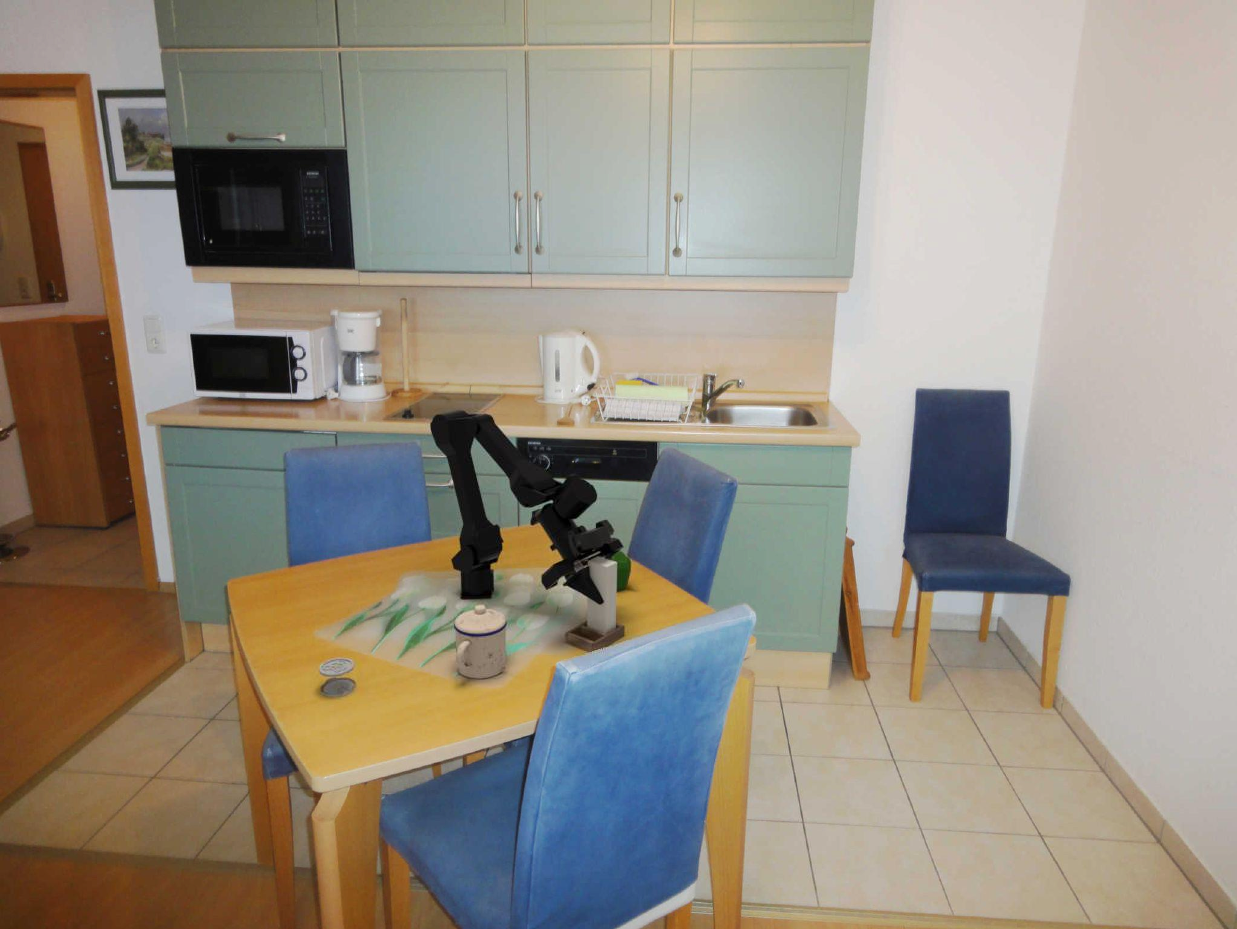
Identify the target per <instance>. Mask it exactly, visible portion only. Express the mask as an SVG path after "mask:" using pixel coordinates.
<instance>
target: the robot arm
mask: <svg viewBox="0 0 1237 929" xmlns="http://www.w3.org/2000/svg"><path fill="white" fill-rule="evenodd" d="M429 426H430V432H431V436H432V438H433V441H434V444H435V446H436V447H437V448H438V449H439V450H440V451H441V452H442V453H443V455H445V457H446V460H447V463H448V469H449V472H450V476H451V478H452V483H453V484H452V485H453V487H454V493H455V496H456V499H457V504H458V508H459V512H460V516H461V520H462V527H461V531H460V534H459V547H460V549H459V550H458V552H457V553H456V554H455V555H454V556H453V557H452V558H451V559H450V560H451V564H452V567H453V569H454V570H455V571H458V572H460V596H459V597H460V599H462V600H464V599H465V600H466V599H467V600H468V599H489V598H493V597H492V596H493V595H492V594H493V592H494V591H495V577H494V576H495V574H494V573H495V572H494V569H493V568H492V567H491V566H492V564H497V563H498V561H499V558H500V556H501V553H502V552H503V549H504V548H503V543H504V539H503V537H502V533H501V527H500V526H499V524H497V523H496V524H494V523H492V522H491V520H490V519H488V517H487V515H486V510H485V506H484V501H483V498H482V494H481V489H480V485H479V481H478V476H477V472H476V469H475V468H476V467H475V465H474V461H473V460H474V459H473V456H472V451H471V450H472V447H473V444H474V441H475V440H476V441H477V442H478V443H479V444H480V446H481V447H482V448H483V449H484V451H485V452H486V453H487V454H488V455H489V456H490V458H491V459H492V460H493V461H494V463H496V465H497V466H498V467H499V468H500V469H501V470H502V472H504V474H505V475H506V477H507V478H508V481H509V488H510V491H511V493H512V494H513V495H514V497H515V498H516V500H517V501H518V503H519V504H520V505H521V507H523V508H525V509H526V508H528V509H529V508H530V509H532V508H534V507H537V506H539V505H543V504H544V505H543V506H542V507H541V508H537V509H535V510H532V511H531V517H530V524H529V525H530V526H536V525H537V524H540V526H541V527H542V529H543V530H544V532H545V534H546V536H547V537H548V539H549V540H550V542H551V543H552V544H551V545H550V546H549V548H550V550H551V551H552V552H554V551H557V552H558V553H559V556H560V557H561V559H562V560H560V561H557V562H556V563H553V564H552V565H551V566H550V567H549V568H548V569H547V570H545V571H544V572H543V573H542V574H541V580H540V583H541V584H542V586H543V587H544V588H545V590H546V591H548V590H550V589H552V588H554V587H556V586H558V583H559V581H560V579H561V578H563V577H564V580H565V582H563V583H562V586H563V587H568V588H570V589H572V590H574V591H576V592H578V593H580V594H581V595H583V596H584V597H586V598H587V599H588V598H589V599H591V600H593V601H594V602H596V603H597V604H599V605H601V604H603V603H604V600H603V598H602V596H601V594H600V592H599V591H598V589H597V587H596V586H595V584H594V582H593V581H592V579H591V577H590V567H589V566H588V561H589V560H591V559H594V558H596V557H602V558H605V559H608V560H611V559H612V557H613V556H614V555H615V554H616V553H618V552H619V551H622V549H624V547H625V546H624V545H623V543H622V541H621V540H620V539H619V538H618V537H612V536H613V535H614V533H615V529H614V527H613V526H612V524H611V523H610V521H609V520H608V519H603V520H599V521H597V522H595V528H592V529H587V528H586V526H584V525H582V524H581V525H579V526H578V524H576V521H575V520H577V519H578V518H579V517H580V516H581V515H583V514H584V513H586V511H587V510H588V509H590V507H592V505H593V504H595V503H596V501H597V499H598V492H597V490H596V488H595V486H594V485H593V484H591V483H590V482H589V481H587V480H586V479H583V478H581V477H580V478H579V476H578V474H577V473H573V474H570V475H568V476H567V477H566V478H565V479H564V481H563V482H561V481H559V480H556V479H555V478H554V477H553V476H552V475H551V474H550V473H549V472H548V471H546V470H545V469H544V468H543V467H541V466H539V465H537V464H534V463H533V462H530V461H529V460H528V459H526V457H525V456H524V455H523V454H522V452H520V450H519V449H518V448H517V447H516V446H515V445H514V444H513V442H512V441H511V440H510V439H509V438H508V437H507V435H506V434H505V433H504V432H503V431H502V430H501V429H500V427H499V426H498V425H497V424H496V422H495V419H494V417H493V416H492V415H491V414H489V413H482V414H481V413H467V412H466V410H463V409H458V410H452V411H448V412H442V413H438V414H435V415H434V416H433V417H432V420H431V422H430V425H429ZM545 503H546V504H545Z"/></svg>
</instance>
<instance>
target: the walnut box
mask: <svg viewBox="0 0 1237 929" xmlns="http://www.w3.org/2000/svg"><path fill="white" fill-rule="evenodd" d="M625 626H626V625H623V624H620V623H617V622H616V629H615V630H613V631H611V632H610V633H608V634H605V633H602V632H599V631H596V630H594V629H591V628H588V627H587V620H586V621H584V622H582V623H581V624H579V625H577V626H575V627H574V628H571V629H570V630H568V631H566V632H564V633H565V634H564V638H565V640H564V643H565V644H567V645H570V646H572V647H575V648H577V649H580V650H583V651H585V652H587V653H590V652H592V651H595V650H598V649H601V648H603V647H605V648H607V647H609V646H611V645H612V644H613V643H615V642H617V641H618V640H620V639H622V638H624V637H625V635H626V634H625V631H626V630H625V628H626V627H625Z"/></svg>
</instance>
